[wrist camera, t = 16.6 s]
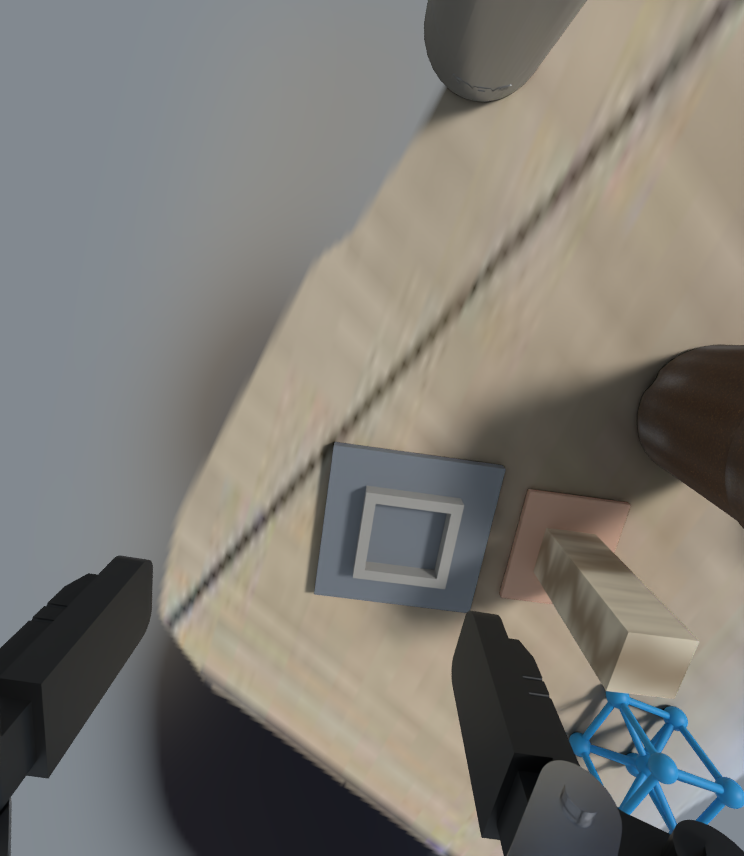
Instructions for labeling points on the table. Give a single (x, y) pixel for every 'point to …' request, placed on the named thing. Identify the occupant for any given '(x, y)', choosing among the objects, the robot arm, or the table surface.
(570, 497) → the terracotta pad
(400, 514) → the puzzle board
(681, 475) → the plant pot
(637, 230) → the table surface
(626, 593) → the maple block
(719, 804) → the molecular structure
